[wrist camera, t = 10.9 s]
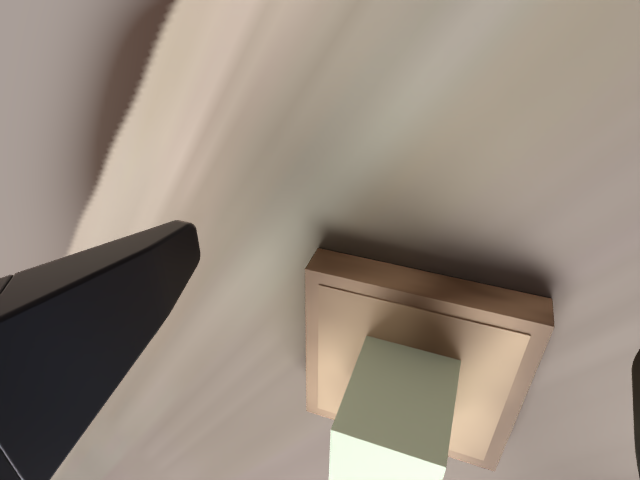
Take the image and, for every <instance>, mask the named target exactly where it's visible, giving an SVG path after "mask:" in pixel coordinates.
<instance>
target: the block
mask: <svg viewBox="0 0 640 480" xmlns="http://www.w3.org/2000/svg"><path fill="white" fill-rule="evenodd" d="M460 365H461V360H457V359H453V358H450V357H446V356H442V355H438V354H434V353H431V352H427V351H423V350H419V349H415V348H412V347H408V346H404V345H400V344H397V343H393V342H389V341H385V340H381V339H378V338H374V337H370V336H366V338H365V340H364V343H363V346H362V348H361V351H360V354H359V356H358V359H357V362H356V364H355V367H354V370H353V372H352V375H351V378H350V380H349V383H348V386H347V388H346V391H345V393H344V396H343V399H342V401H341V404H340V407H339V409H338V412H337V415H336V417H335V420H334V423H333V425H332V428H331V437H330V463H329V480H443V476H444V473H445V470H446V465H447V458H448V451H449V444H450V437H451V429H452V422H453V415H454V408H455V401H456V394H457V387H458V380H459V372H460Z"/></svg>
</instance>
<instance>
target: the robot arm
mask: <svg viewBox="0 0 640 480" xmlns="http://www.w3.org/2000/svg"><path fill="white" fill-rule="evenodd" d="M199 260H200V248H199V242H198V236H197V230H196V227H195V226H194V224H192V223H189V222H184V221H180V220H175V221H172V222H169V223H166V224H163V225H160V226H157V227H154V228H151V229H148V230H145V231H142V232H139V233H136V234H133V235H130V236H126V237H123V238H120V239H117V240H114V241H111V242H108V243H105V244H102V245H99V246H96V247H93V248H90V249H87V250H84V251H81V252H78V253H75V254H72V255H69V256H66V257H63V258H60V259H57V260H54V261H51V262H48V263H45V264H42V265H39V266H36V267H33V268H30V269H27V270H24V271H21V272H18V273H15V274H14V275H8V276H5V277H2V278H0V480H50V479H51V477H52V476H53V475H54V473H55V472H56V471H57V469H58V468H59V466H60V465H61V464H62V462H63V461H64V460H65V458H66V457H67V455H68V454H69V453H70V451H71V450H72V448H73V447H74V446H75V444H76V443H77V442H78V440H79V439H80V437H81V436H82V435H83V433H84V432H85V431H86V429H87V428H88V426H89V425H90V424H91V422H92V421H93V420H94V418H95V417H96V415H97V414H98V413H99V411H100V410H101V408H102V407H103V406H104V404H105V403H106V402H107V400H108V399H109V397H110V396H111V395H112V393H113V392H114V391H115V389H116V388H117V386H118V385H119V384H120V382H121V381H122V379H123V378H124V377H125V375H126V374H127V373H128V371H129V370H130V368H131V367H132V366H133V364H134V363H135V362H136V360H137V359H138V357H139V356H140V355H141V353H142V352H143V350H144V349H145V348H146V346H147V345H148V344H149V342H150V341H151V339H152V338H153V337H154V335H155V334H156V333H157V331H158V330H159V328H160V327H161V326H162V324H163V323H164V321H165V320H166V318H167V317H168V315H169V314H170V312H171V310H172V309H173V307H174V305H175V304H176V302H177V300H178V298H179V297H180V295H181V293H182V291H183V290H184V288H185V286H186V284H187V283H188V281H189V279H190V277H191V276H192V274H193V272H194V270H195V269H196V267H197V265H198V263H199ZM632 390H633V415H634V439H635V452H636V459H637V466H638V472H639V478H640V349H639V351H638V353H637V355H636V356H635V358H634V361H633V365H632Z"/></svg>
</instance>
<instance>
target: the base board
mask: <svg viewBox="0 0 640 480" xmlns="http://www.w3.org/2000/svg"><path fill="white" fill-rule="evenodd" d="M305 317H306V409H307V411H308V412H311V413H314V414H317V415H320V416H323V417H327V418H330V419H333V420H335V417H336V415H337V412H338V409H339V407H340V404H341V401H342V399H343V396H344V393H345V391H346V388H347V386H348V383H349V380H350V378H351V375H352V372H353V370H354V367H355V364H356V362H357V359H358V356H359V354H360V351H361V348H362V346H363V343H364V340H365V338H366V336H370V337H374V338H378V339H381V340H385V341H389V342H393V343H397V344H400V345H404V346H408V347H412V348H415V349H419V350H423V351H427V352H431V353H434V354H438V355H442V356H446V357H450V358H453V359H457V360H461V365H460V372H459V380H458V387H457V394H456V401H455V408H454V415H453V422H452V429H451V437H450V444H449V451H448V457H451V458H454V459H457V460H460V461H463V462H467V463H470V464H473V465H476V466H479V467H482V468H485V469H488V470H491V471H495V470H496V467H497V465H498V463H499V460H500V458H501V455H502V453H503V450H504V448H505V446H506V443H507V441H508V438H509V436H510V433H511V431H512V429H513V426H514V424H515V421H516V419H517V416H518V414H519V412H520V409H521V407H522V404H523V402H524V399H525V397H526V395H527V392H528V390H529V387H530V385H531V383H532V380H533V378H534V375H535V373H536V370H537V368H538V366H539V363H540V361H541V358H542V356H543V353H544V351H545V349H546V346H547V344H548V341H549V339H550V336H551V334H552V332H553V329H554V315H553V302H552V299H551V298H546V297H542V296H537V295H532V294H528V293H523V292H519V291H514V290H509V289H505V288H500V287H496V286H491V285H486V284H482V283H477V282H473V281H468V280H463V279H459V278H454V277H450V276H445V275H440V274H436V273H431V272H427V271H422V270H417V269H413V268H408V267H404V266H399V265H394V264H390V263H385V262H381V261H376V260H371V259H367V258H362V257H358V256H353V255H348V254H344V253H339V252H335V251H330V250H325V249H321V248H318V249H317V251H316V252H315V254H314V255H313V257H312V259H311V260H310V262H309V263H308V265H307V267H306V268H305Z"/></svg>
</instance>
